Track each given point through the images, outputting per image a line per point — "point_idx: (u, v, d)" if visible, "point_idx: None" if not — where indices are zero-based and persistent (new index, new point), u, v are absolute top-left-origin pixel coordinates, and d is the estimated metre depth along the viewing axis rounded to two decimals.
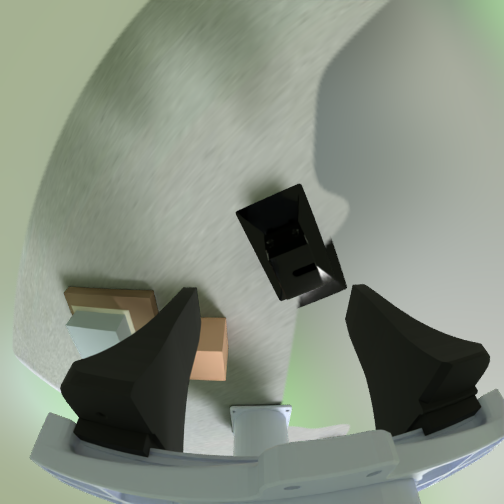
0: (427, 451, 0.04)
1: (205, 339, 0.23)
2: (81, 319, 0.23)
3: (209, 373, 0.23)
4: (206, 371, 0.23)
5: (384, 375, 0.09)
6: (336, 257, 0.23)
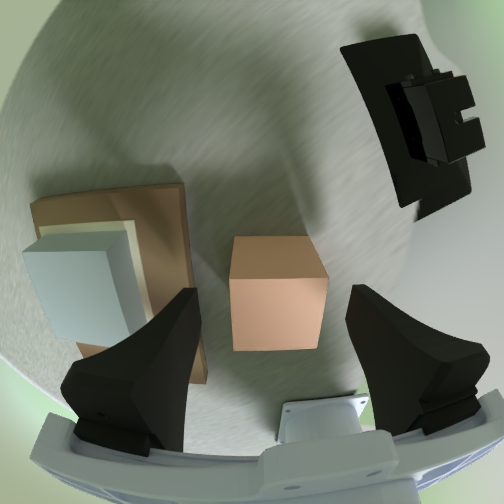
0: (427, 451, 0.04)
1: (287, 262, 0.12)
2: (48, 242, 0.12)
3: (290, 334, 0.12)
4: (285, 329, 0.12)
5: (384, 375, 0.09)
6: None
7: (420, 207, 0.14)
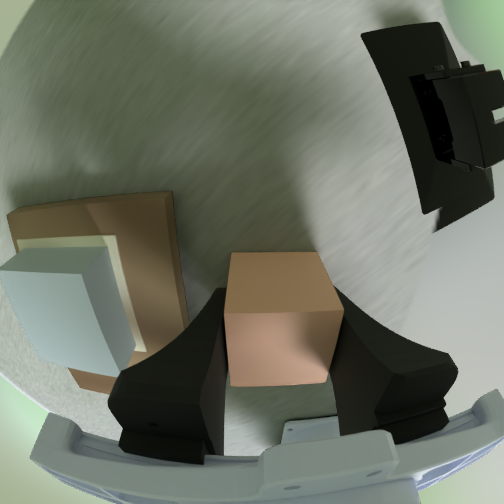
0: (427, 451, 0.04)
1: (294, 288, 0.10)
2: (24, 259, 0.10)
3: (296, 369, 0.10)
4: (291, 365, 0.10)
5: (346, 381, 0.09)
6: None
7: (443, 215, 0.12)
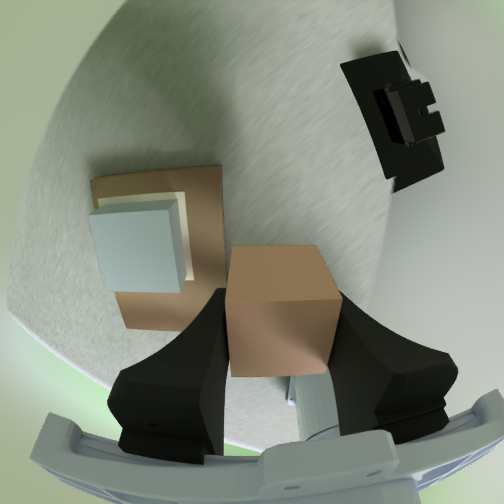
0: (427, 451, 0.04)
1: (293, 278, 0.10)
2: (111, 208, 0.17)
3: (296, 360, 0.10)
4: (291, 355, 0.10)
5: (346, 381, 0.09)
6: None
7: (401, 180, 0.19)
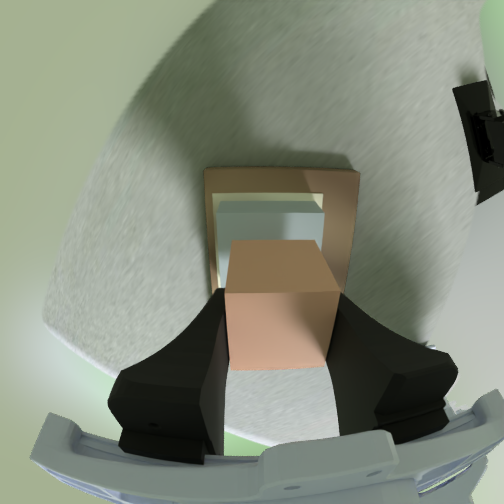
0: (427, 451, 0.04)
1: (292, 272, 0.11)
2: (242, 206, 0.16)
3: (295, 352, 0.11)
4: (290, 348, 0.10)
5: (346, 381, 0.09)
6: None
7: (484, 193, 0.18)
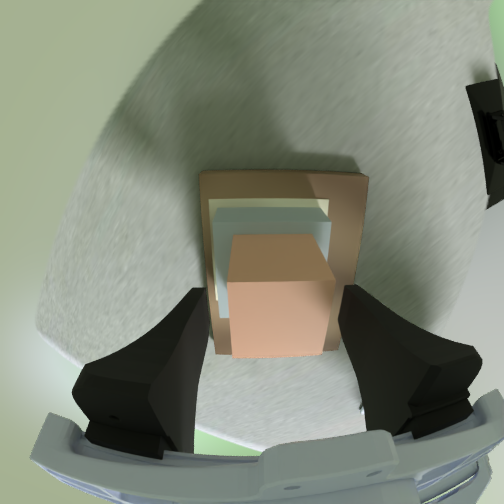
0: (427, 451, 0.04)
1: (290, 263, 0.11)
2: (241, 214, 0.15)
3: (293, 340, 0.11)
4: (288, 335, 0.11)
5: (374, 377, 0.09)
6: None
7: (496, 196, 0.17)
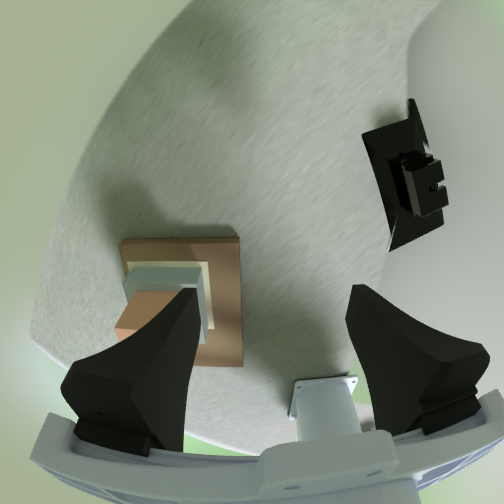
0: (427, 451, 0.04)
1: (153, 317, 0.17)
2: (142, 275, 0.21)
3: None
4: None
5: (384, 375, 0.09)
6: None
7: (405, 237, 0.23)
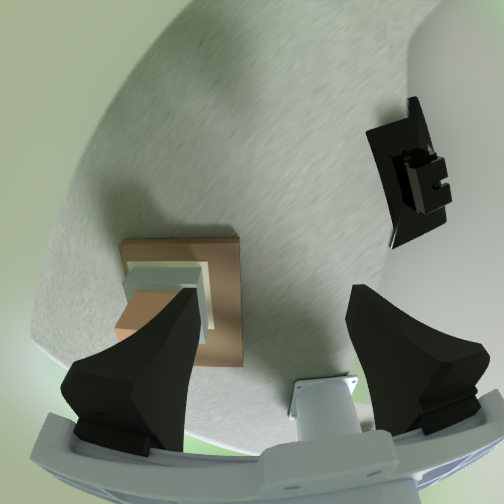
0: (427, 451, 0.04)
1: (153, 317, 0.17)
2: (142, 275, 0.21)
3: None
4: None
5: (384, 375, 0.09)
6: None
7: (408, 234, 0.22)
